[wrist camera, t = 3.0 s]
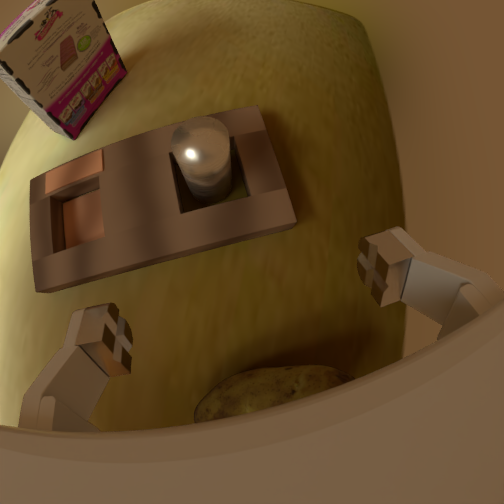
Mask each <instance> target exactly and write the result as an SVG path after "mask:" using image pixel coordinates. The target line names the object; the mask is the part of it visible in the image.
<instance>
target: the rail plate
mask: <svg viewBox="0 0 504 504" xmlns="http://www.w3.org/2000/svg"><path fill="white" fill-rule="evenodd" d="M207 117H212V118H215V119H217V120H219V121H220V122H222V123H223V124H224V125H225V127H226V128H227V130H228V133H229V141H230V150H233V149H235V153H236V156H237V160H238V163H239V167H240V170H241V174H242V177H243V181H244V184H245V188H246V191H247V195H248V197H245V198H241V199H237V200H233V201H229V202H225V203H221V204H217V205H213V206H209V207H205V208H201V209H198V210H194V211H190V212H186V213H184V211H183V206H182V202H181V197H180V192H179V187H178V182H177V176H176V171H175V166H174V164H177V161H176V158H175V156H174V154H173V152H172V149H171V139H172V135H173V133H174V131H175V130H176V129H177V128H178V126H179V125H181V124H182V123H183V122H185V121H183V122H179V123H175V124H172V125H168V126H165V127H161V128H158V129H155V130H151V131H148V132H145V133H142V134H139V135H136V136H133V137H130V138H127V139H124V140H121V141H119V142H116V143H113V144H110V145H108V146H105V147H102V148H100V149H97V150H95V151H92V152H90V153H87V154H85V155H83V156H80V157H78V158H76V159H73V160H71V161H69V162H66V163H64V164H62V165H60V166H58V167H56V168H53V169H51V170H49V171H47V172H45V173H43V174H41V175H39V176H37V177H35V178H33V179H31V180H30V240H31V254H32V265H33V274H34V282H35V289H36V292H42V293H52V292H56V291H59V290H63V289H66V288H70V287H73V286H77V285H80V284H84V283H88V282H91V281H95V280H99V279H102V278H106V277H109V276H113V275H117V274H120V273H124V272H128V271H131V270H135V269H139V268H143V267H146V266H150V265H154V264H157V263H161V262H165V261H169V260H172V259H176V258H180V257H184V256H188V255H191V254H195V253H199V252H203V251H207V250H210V249H214V248H218V247H222V246H226V245H230V244H234V243H237V242H241V241H245V240H249V239H253V238H257V237H261V236H265V235H269V234H273V233H277V232H281V231H285V230H289V229H292V228H293V226H294V225H295V224H296V222H297V220H296V217H295V214H294V210H293V207H292V204H291V201H290V198H289V195H288V191H287V188H286V185H285V182H284V179H283V176H282V173H281V170H280V167H279V164H278V161H277V158H276V155H275V152H274V150H273V147H272V144H271V141H270V138H269V135H268V132H267V130H266V127H265V124H264V121H263V119H262V116H261V113H260V110H259V108H258V105H256V106H250V107H245V108H239V109H234V110H229V111H225V112H220V113H215V114H211V115H207ZM186 121H187V120H186ZM97 189H99V190H97ZM94 190H97V191H94ZM92 191H94V192H92ZM89 192H91V193H89ZM86 193H89V194H86ZM84 194H86V195H84ZM81 195H83V196H81ZM79 196H81V197H79ZM76 197H78V198H76ZM74 198H76V199H74ZM71 199H73V200H71ZM69 200H71V201H69ZM66 201H68V202H66ZM64 202H66V203H64ZM62 203H63V206H62ZM63 215H64V223H63ZM64 230H65V236H64ZM65 241H66V246H65Z"/></svg>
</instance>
